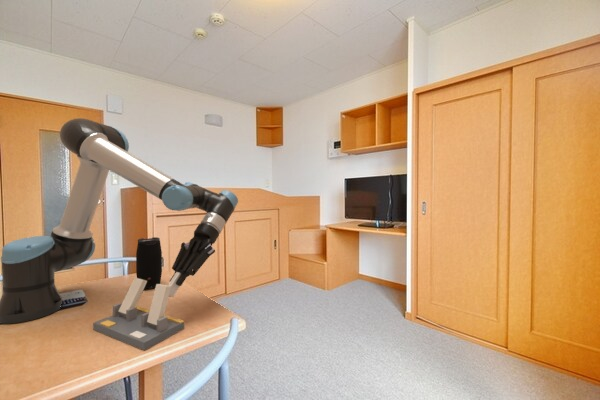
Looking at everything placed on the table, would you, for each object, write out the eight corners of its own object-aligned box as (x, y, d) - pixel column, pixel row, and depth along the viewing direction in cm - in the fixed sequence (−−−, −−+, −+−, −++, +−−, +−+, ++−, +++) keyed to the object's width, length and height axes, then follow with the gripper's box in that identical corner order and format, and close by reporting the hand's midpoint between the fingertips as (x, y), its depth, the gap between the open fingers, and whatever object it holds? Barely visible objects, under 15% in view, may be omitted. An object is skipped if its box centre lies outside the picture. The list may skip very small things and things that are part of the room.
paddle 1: (116, 312, 80) (134, 277, 85) (121, 313, 82) (138, 278, 86) (126, 316, 78) (143, 279, 83) (131, 317, 80) (148, 281, 84)
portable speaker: (156, 290, 106) (156, 240, 106) (131, 291, 106) (130, 241, 105) (165, 283, 115) (165, 236, 114) (142, 283, 114) (142, 237, 113)
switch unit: (93, 329, 77) (93, 311, 77) (135, 312, 88) (134, 296, 87) (144, 350, 67) (144, 329, 67) (184, 328, 78) (184, 310, 78)
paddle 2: (145, 323, 75) (155, 283, 77) (150, 322, 76) (160, 283, 78) (156, 327, 73) (166, 286, 75) (162, 326, 74) (171, 286, 76)
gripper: (189, 221, 93) (143, 285, 78) (219, 223, 87) (176, 292, 73) (201, 234, 98) (160, 296, 83) (230, 237, 92) (192, 304, 78)
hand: (168, 294), depth 78 cm, fingers closed
